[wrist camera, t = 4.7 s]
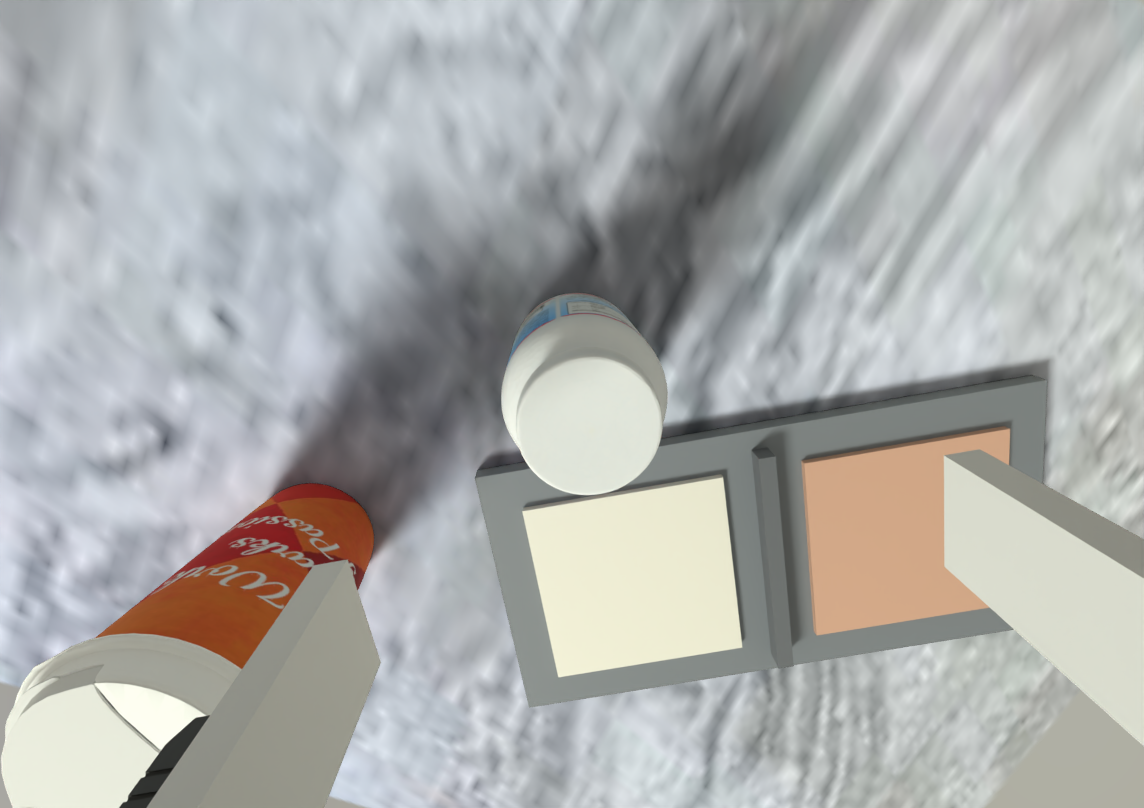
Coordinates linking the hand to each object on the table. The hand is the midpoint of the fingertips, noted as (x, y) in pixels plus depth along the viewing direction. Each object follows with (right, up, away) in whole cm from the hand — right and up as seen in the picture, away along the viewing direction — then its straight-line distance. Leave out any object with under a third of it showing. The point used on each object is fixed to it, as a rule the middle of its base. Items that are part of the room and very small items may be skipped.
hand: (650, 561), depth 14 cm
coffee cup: (-15, -3, +19) cm, 24 cm away
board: (+8, -4, +20) cm, 22 cm away
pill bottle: (-2, +6, +17) cm, 18 cm away
